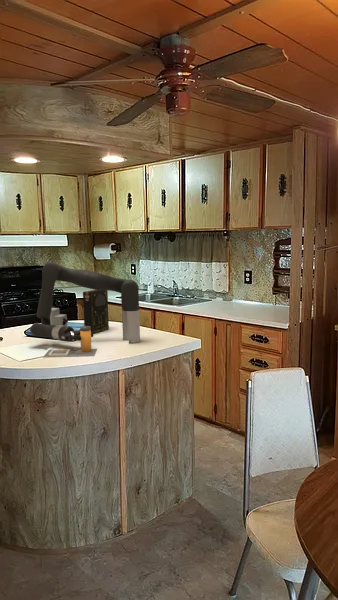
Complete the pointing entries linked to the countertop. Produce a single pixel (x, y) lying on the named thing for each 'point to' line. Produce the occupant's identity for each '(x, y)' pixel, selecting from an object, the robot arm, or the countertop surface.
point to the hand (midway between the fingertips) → (86, 336)
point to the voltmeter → (96, 310)
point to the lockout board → (69, 353)
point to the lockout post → (85, 338)
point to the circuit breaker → (58, 317)
